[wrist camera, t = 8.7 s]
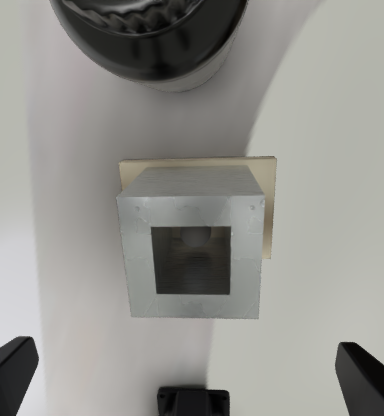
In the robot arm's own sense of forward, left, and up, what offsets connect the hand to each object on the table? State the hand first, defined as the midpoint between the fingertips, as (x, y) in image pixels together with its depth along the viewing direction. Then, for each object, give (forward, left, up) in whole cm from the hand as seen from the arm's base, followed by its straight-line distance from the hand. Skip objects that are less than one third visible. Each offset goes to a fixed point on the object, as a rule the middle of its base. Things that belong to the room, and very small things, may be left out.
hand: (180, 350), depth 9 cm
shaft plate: (0, 0, -13) cm, 13 cm away
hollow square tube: (0, 0, -12) cm, 12 cm away
